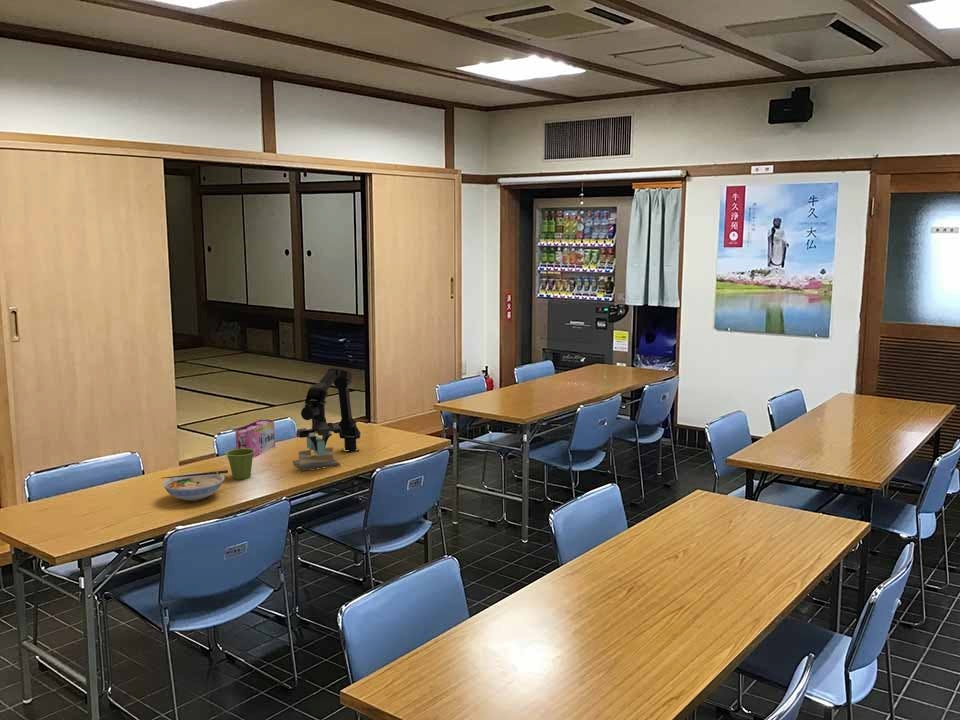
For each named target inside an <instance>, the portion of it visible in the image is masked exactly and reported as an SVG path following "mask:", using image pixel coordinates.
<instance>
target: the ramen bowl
mask: <svg viewBox="0 0 960 720" xmlns="http://www.w3.org/2000/svg"><path fill="white" fill-rule="evenodd" d="M228 473H229V470H228V469H226V470H225V469H224V470H216V471H207V472H205V471H203V472H201V471H200V472H189V473H185V474H180V475H179V474H178V475H174V476H165V477H161V478H160V479H161V480H162V479H165V480H164V481H163V482H162V486H163V488H164V489H165V491H166V492H167V493H168V494H169V495H170V496H172V497H174V498H176V499H177V500H183V501H186V502H198V501H202V500H203V499H205V498H208V497H209V496H211V495H214V493H216V492H217V491H218V489H219V488H220V487H221V486H222V484H223V483H224V480H225V476H224V475H223V474H228Z"/></svg>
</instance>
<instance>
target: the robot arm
mask: <svg viewBox="0 0 960 720" xmlns="http://www.w3.org/2000/svg"><path fill="white" fill-rule="evenodd" d="M352 379H353V375H352V373H351V372H350V371H349V370H343V369H341V368H339V367H329V368H328V370H327V372H326V373H325V374H324V375H323V377H322V378H321V379H320V381H318V383H315V384H313V385H311V387H309V388H308V390H307V393H306V396H305V401H304V407H303V408H302V409H301V411H300V415H301V417H302V419H303V420H305V421H311V429H308V428H306V427H305V428H298V429H297V430H296V437H298V438H301V439H304V438H307V437H308V438H310V440H311V441H312V444H313V446H314V448H315V450H316V451H317V444H316V436H317V435H318V437H320V436H322V437H321V439H322V440H324V441H325V447H327V442H328V440H329V438H330V437H332V436H333V434H332V432H333V433H334V434H338V435H339V439H343V443H344V448H345V450H349V451H354V452H356V451H355V450H356V449H358V446H357V439H360V438H361V433H362V432H360V429H359V427H357V422H356V420H355V419H354V418H353V415H352V408H351V407H352V405H351V399H350V387H351V384H352ZM332 385H334V387H335V388H336V389H337V390H338V400H339V408H340V419H341V420H339V421H340V422H339V423H338V424H334V423H333V422H327V418H326V409H325V407H326V406H325V405H326V404H327V401H326V398H327V396H328V394H329V393H328V390H329V389H330V387H331V386H332ZM315 435H316V436H315Z"/></svg>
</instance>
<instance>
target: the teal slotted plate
mask: <svg viewBox="0 0 960 720" xmlns="http://www.w3.org/2000/svg"><path fill="white" fill-rule="evenodd" d="M315 436H316V444H317V451H316V450H315V448H314V446H313V444H312V441H311V440H310V438H308V437H306V448H307V449H308V450H311V451H313V453H315V455H324V454H325V447H326V446H325V441H324V440H322V437H320V436H317V434H315Z"/></svg>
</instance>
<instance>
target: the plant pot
mask: <svg viewBox="0 0 960 720" xmlns="http://www.w3.org/2000/svg"><path fill="white" fill-rule="evenodd" d="M254 452H255V450H253V449H247V448H243V449H236V448H235V449H231V450H228V451H225V455H226V456H227V460H228V461H229V467H230V471H231V475H232V478H233V480H237V481H239V480H248V479H249V478H251V476H252V475H251V474H252V466H253V460H254V457H253V455H254Z"/></svg>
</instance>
